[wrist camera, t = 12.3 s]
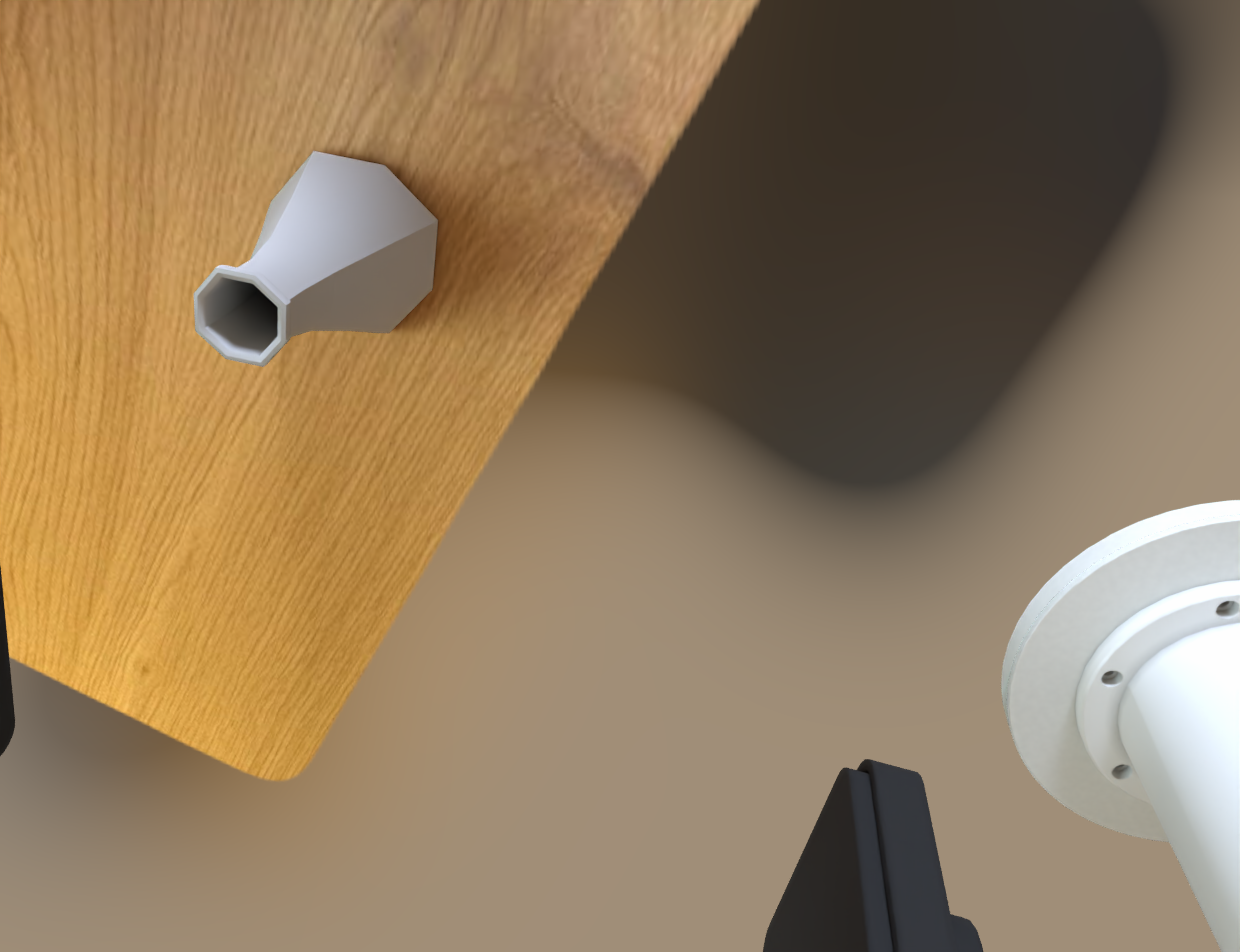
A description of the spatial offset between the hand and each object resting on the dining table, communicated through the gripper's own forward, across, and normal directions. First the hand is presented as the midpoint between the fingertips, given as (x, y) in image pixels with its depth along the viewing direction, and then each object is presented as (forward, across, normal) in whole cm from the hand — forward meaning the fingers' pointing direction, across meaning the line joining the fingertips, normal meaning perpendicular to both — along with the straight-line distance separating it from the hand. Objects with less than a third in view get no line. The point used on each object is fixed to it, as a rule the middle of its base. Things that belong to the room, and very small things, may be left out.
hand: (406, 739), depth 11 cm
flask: (+31, +12, +5) cm, 33 cm away
